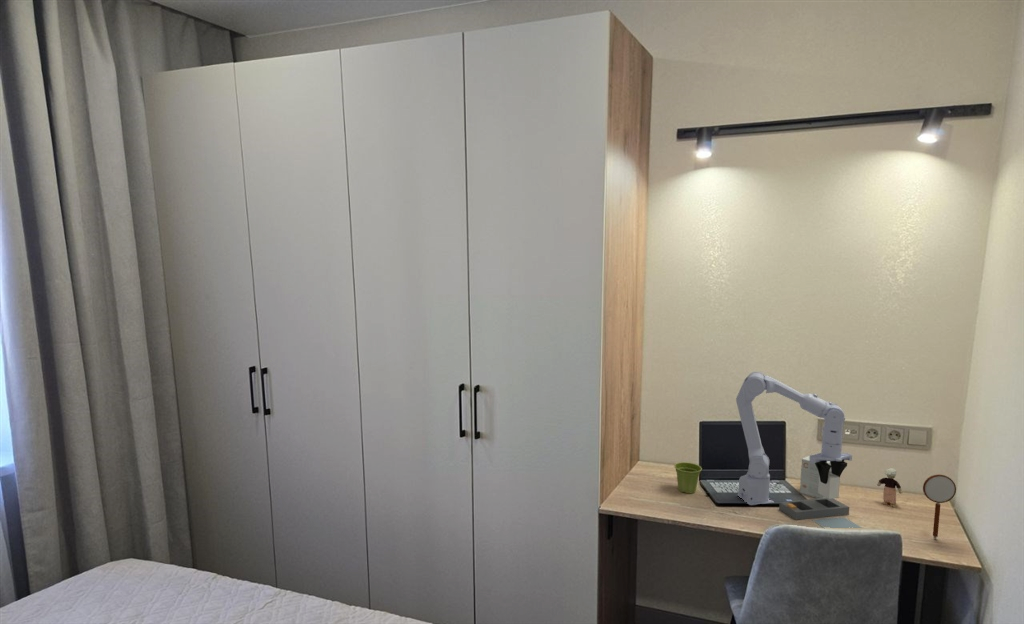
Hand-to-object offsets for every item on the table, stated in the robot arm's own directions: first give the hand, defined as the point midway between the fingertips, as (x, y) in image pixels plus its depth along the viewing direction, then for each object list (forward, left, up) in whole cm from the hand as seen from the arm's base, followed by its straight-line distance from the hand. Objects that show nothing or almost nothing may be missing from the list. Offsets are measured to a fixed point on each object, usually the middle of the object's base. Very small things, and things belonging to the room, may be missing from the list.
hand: (829, 482), depth 193 cm
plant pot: (-37, +25, -10) cm, 46 cm away
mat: (-4, -10, -10) cm, 15 cm away
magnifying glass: (+19, -22, -10) cm, 31 cm away
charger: (0, 0, -4) cm, 5 cm away
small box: (+6, +13, -10) cm, 18 cm away
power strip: (-5, 0, -11) cm, 12 cm away
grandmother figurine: (+26, +2, -10) cm, 28 cm away
